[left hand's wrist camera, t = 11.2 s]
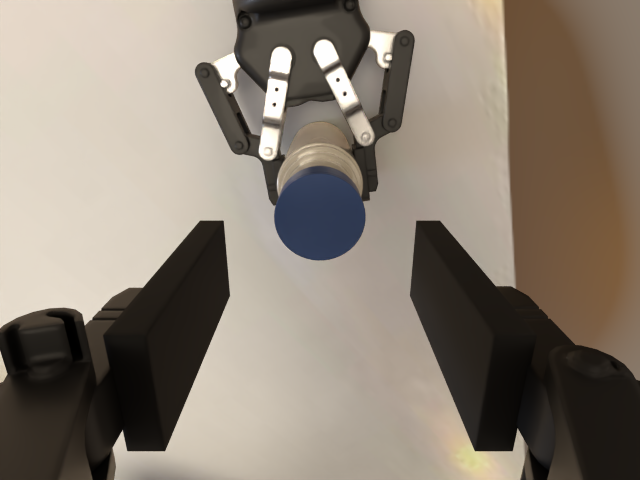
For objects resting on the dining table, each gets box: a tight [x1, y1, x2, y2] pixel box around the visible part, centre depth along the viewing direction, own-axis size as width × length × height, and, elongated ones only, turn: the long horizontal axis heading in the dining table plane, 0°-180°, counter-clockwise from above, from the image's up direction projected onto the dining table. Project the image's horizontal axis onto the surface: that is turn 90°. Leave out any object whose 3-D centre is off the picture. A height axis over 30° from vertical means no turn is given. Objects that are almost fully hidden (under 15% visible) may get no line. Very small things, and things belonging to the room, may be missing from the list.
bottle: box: [277, 122, 363, 196], centre depth 27 cm, size 5×5×18 cm
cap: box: [274, 166, 365, 260], centre depth 19 cm, size 4×4×2 cm
